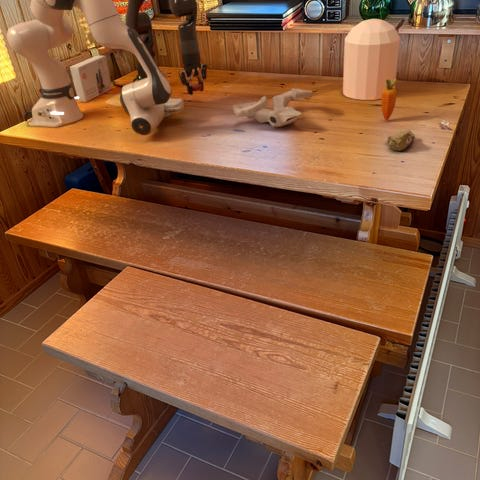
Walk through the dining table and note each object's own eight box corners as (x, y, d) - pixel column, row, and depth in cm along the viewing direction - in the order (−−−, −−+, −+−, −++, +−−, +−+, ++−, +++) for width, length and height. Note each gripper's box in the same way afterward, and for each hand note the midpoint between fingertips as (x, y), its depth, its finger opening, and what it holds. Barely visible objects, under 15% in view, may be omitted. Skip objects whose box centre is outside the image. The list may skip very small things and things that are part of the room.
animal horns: (230, 133, 167) (227, 101, 161) (244, 110, 188) (241, 81, 182) (308, 133, 161) (308, 99, 155) (313, 109, 182) (314, 78, 176)
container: (363, 103, 182) (369, 26, 166) (332, 90, 198) (334, 19, 182) (405, 92, 188) (414, 17, 172) (372, 81, 205) (377, 11, 189)
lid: (197, 91, 193) (197, 87, 192) (186, 91, 195) (186, 87, 195) (204, 87, 197) (204, 84, 196) (193, 87, 199) (193, 83, 198)
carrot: (394, 118, 167) (398, 76, 158) (393, 123, 163) (397, 80, 154) (379, 117, 168) (383, 75, 160) (378, 122, 165) (382, 80, 156)
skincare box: (87, 102, 214) (77, 67, 204) (78, 102, 215) (68, 66, 206) (113, 88, 229) (105, 54, 220) (104, 88, 231) (96, 54, 222)
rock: (408, 140, 153) (379, 139, 152) (414, 122, 149) (384, 120, 148) (421, 154, 144) (391, 153, 143) (428, 135, 140) (396, 133, 139)
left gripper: (178, 102, 173) (186, 90, 184) (126, 104, 176) (137, 92, 187) (181, 118, 177) (188, 106, 188) (130, 120, 180) (140, 107, 191)
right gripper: (197, 46, 194) (202, 86, 203) (170, 54, 186) (177, 96, 195) (209, 47, 189) (214, 89, 199) (182, 55, 181) (188, 98, 191)
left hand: (162, 99), depth 188 cm, fingers closed on jar, 5 cm apart
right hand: (196, 92), depth 197 cm, fingers closed on lid, 5 cm apart
